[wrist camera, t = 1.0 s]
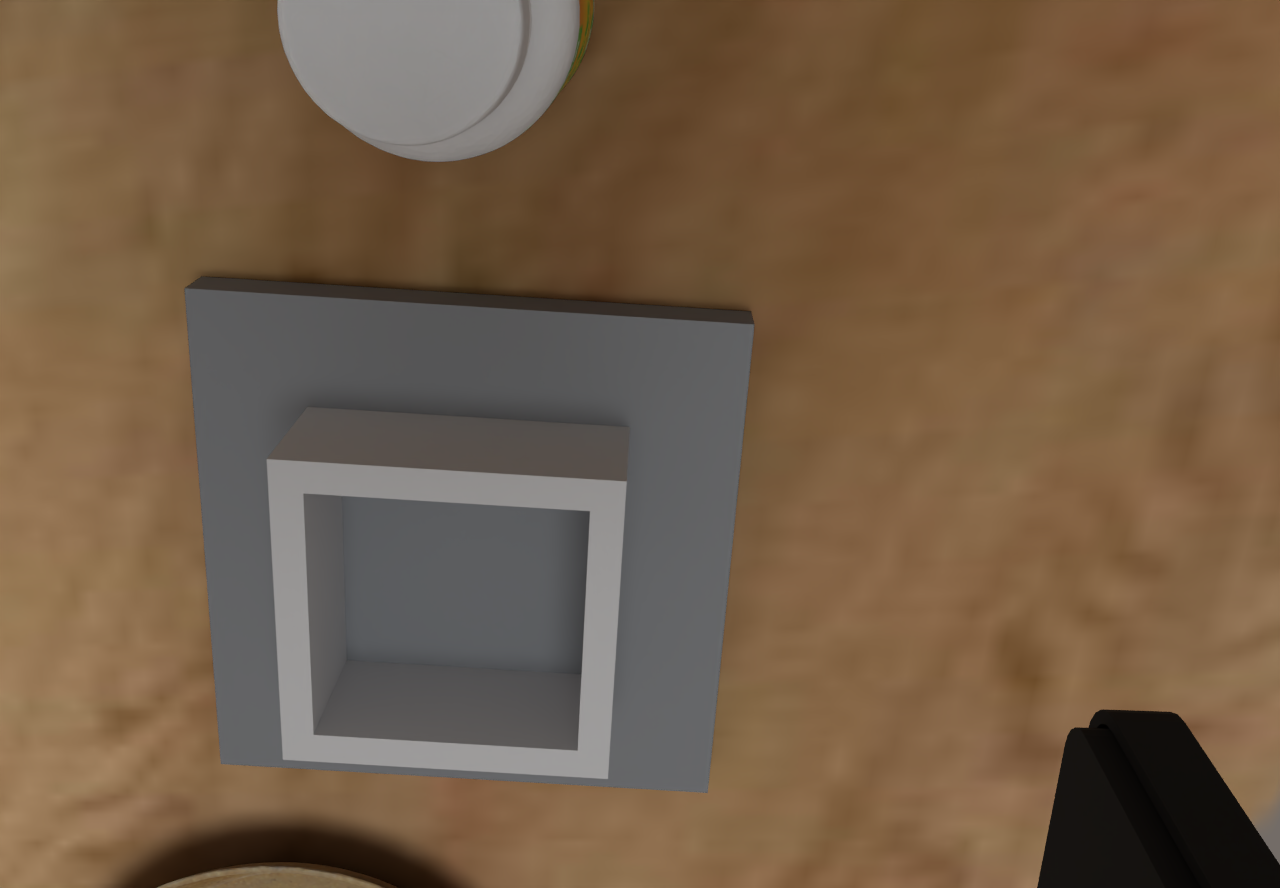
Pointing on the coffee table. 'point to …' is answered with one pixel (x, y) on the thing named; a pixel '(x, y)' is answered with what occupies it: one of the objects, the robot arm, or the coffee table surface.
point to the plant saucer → (278, 877)
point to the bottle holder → (466, 529)
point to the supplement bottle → (435, 67)
